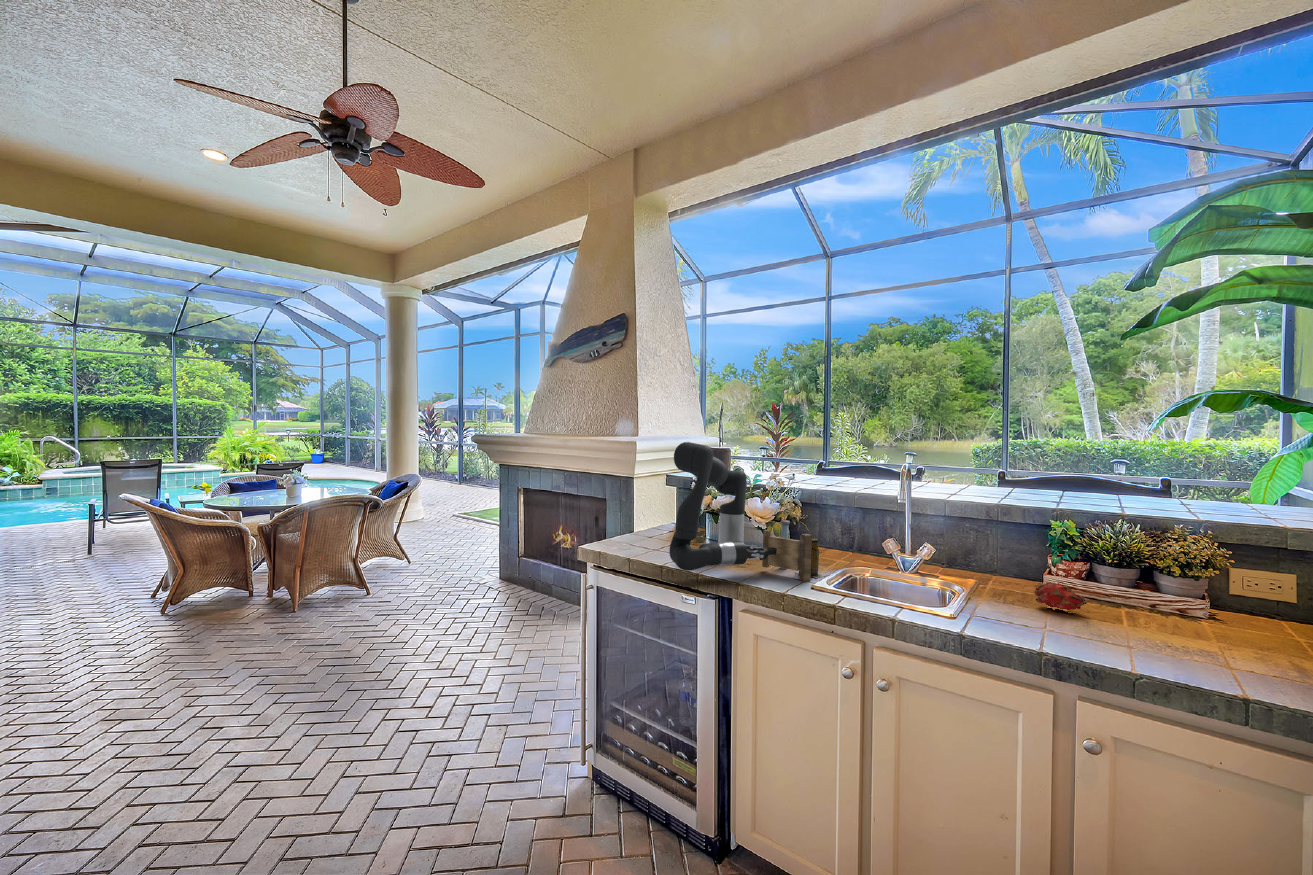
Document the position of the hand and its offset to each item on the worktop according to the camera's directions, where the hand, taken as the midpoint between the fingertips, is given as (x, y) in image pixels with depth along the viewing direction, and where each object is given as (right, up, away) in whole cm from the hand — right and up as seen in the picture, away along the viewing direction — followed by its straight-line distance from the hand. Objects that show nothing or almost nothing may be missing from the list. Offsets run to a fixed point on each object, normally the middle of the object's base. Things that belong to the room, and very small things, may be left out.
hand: (775, 550), depth 177 cm
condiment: (+13, -9, +2) cm, 16 cm away
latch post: (+5, -8, +9) cm, 13 cm away
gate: (+3, -7, 0) cm, 8 cm away
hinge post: (+8, -8, -6) cm, 13 cm away
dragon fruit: (+74, -11, -28) cm, 80 cm away
